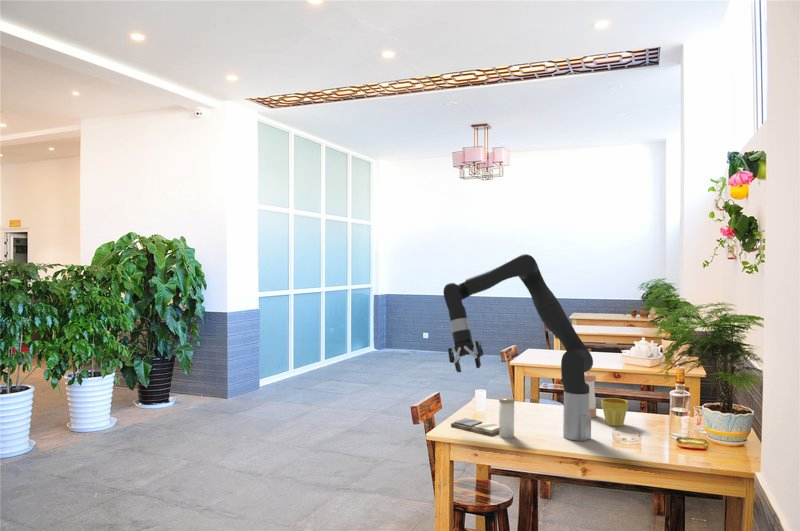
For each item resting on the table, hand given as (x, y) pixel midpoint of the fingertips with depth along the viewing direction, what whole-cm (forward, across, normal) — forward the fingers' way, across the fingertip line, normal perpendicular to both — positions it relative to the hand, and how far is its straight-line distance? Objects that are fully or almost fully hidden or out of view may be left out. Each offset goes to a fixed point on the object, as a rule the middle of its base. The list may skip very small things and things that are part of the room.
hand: (468, 370), depth 233 cm
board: (+23, +2, -2) cm, 23 cm away
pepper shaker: (+26, -30, -46) cm, 61 cm away
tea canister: (+27, -10, +1) cm, 29 cm away
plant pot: (+31, -42, -38) cm, 64 cm away
